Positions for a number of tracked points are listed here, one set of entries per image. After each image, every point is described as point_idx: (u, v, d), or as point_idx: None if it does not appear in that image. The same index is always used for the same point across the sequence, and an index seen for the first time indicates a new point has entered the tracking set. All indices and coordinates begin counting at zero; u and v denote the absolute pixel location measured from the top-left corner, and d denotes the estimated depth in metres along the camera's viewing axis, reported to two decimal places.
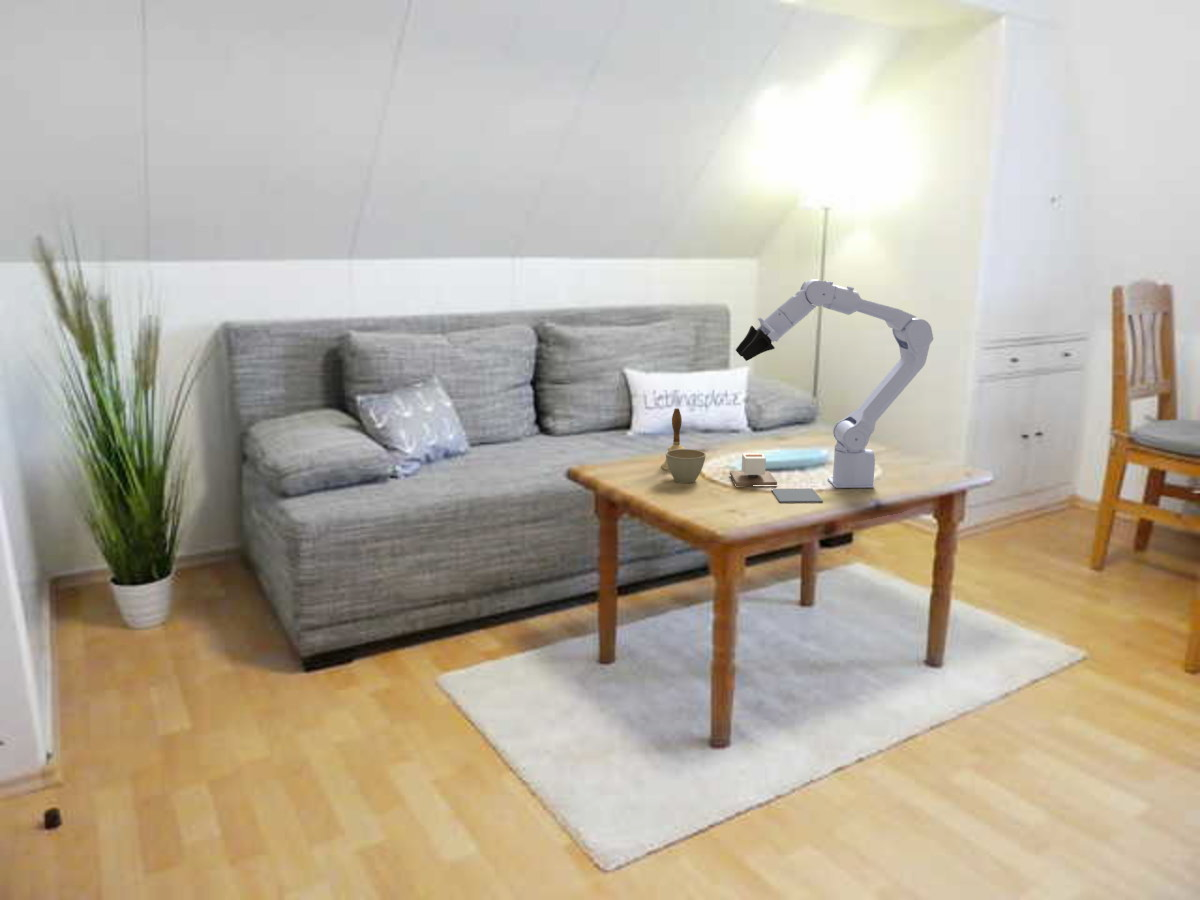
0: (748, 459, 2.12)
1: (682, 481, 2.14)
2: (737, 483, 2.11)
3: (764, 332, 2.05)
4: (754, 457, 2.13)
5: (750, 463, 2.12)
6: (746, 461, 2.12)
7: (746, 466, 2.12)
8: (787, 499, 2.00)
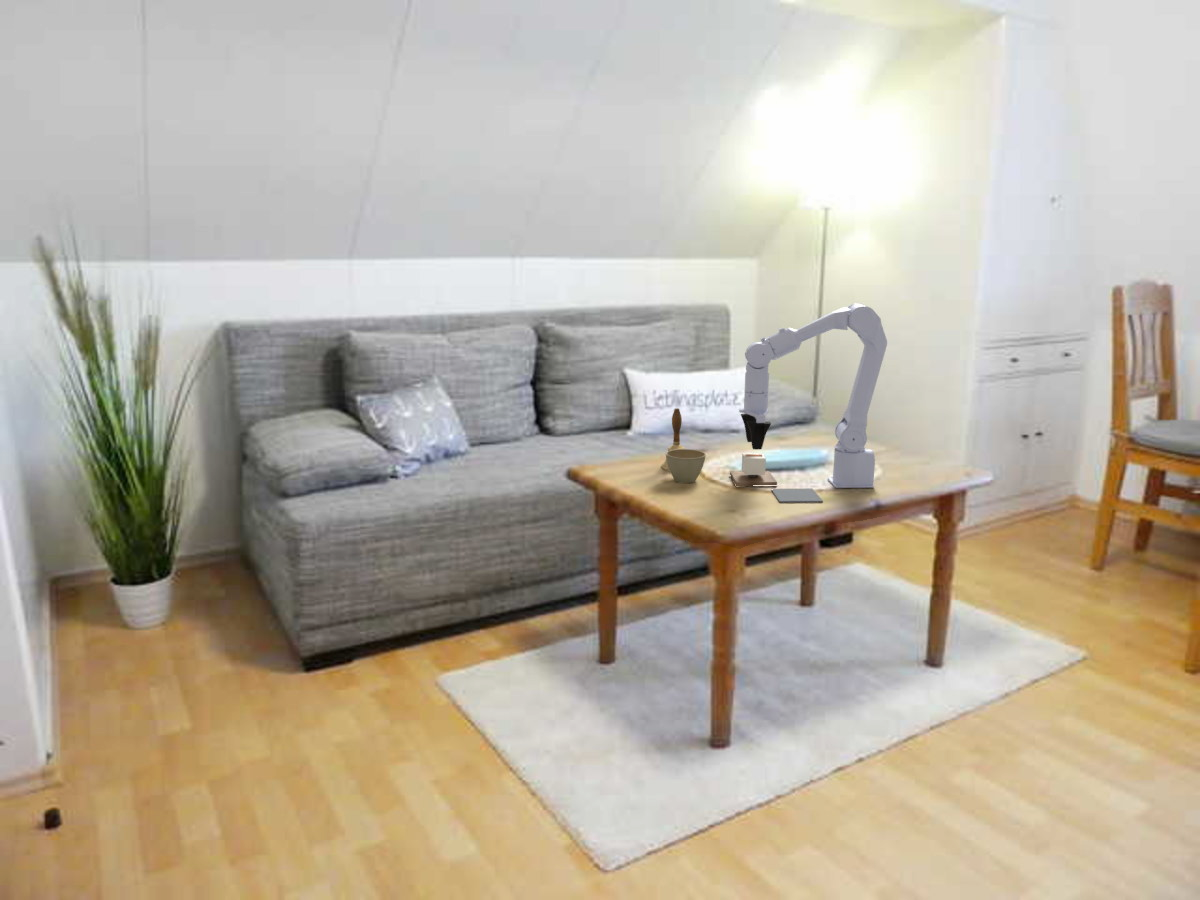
0: (748, 459, 2.12)
1: (682, 481, 2.14)
2: (737, 483, 2.11)
3: None
4: (754, 457, 2.13)
5: (750, 463, 2.12)
6: (746, 461, 2.12)
7: (746, 466, 2.12)
8: (787, 499, 2.00)
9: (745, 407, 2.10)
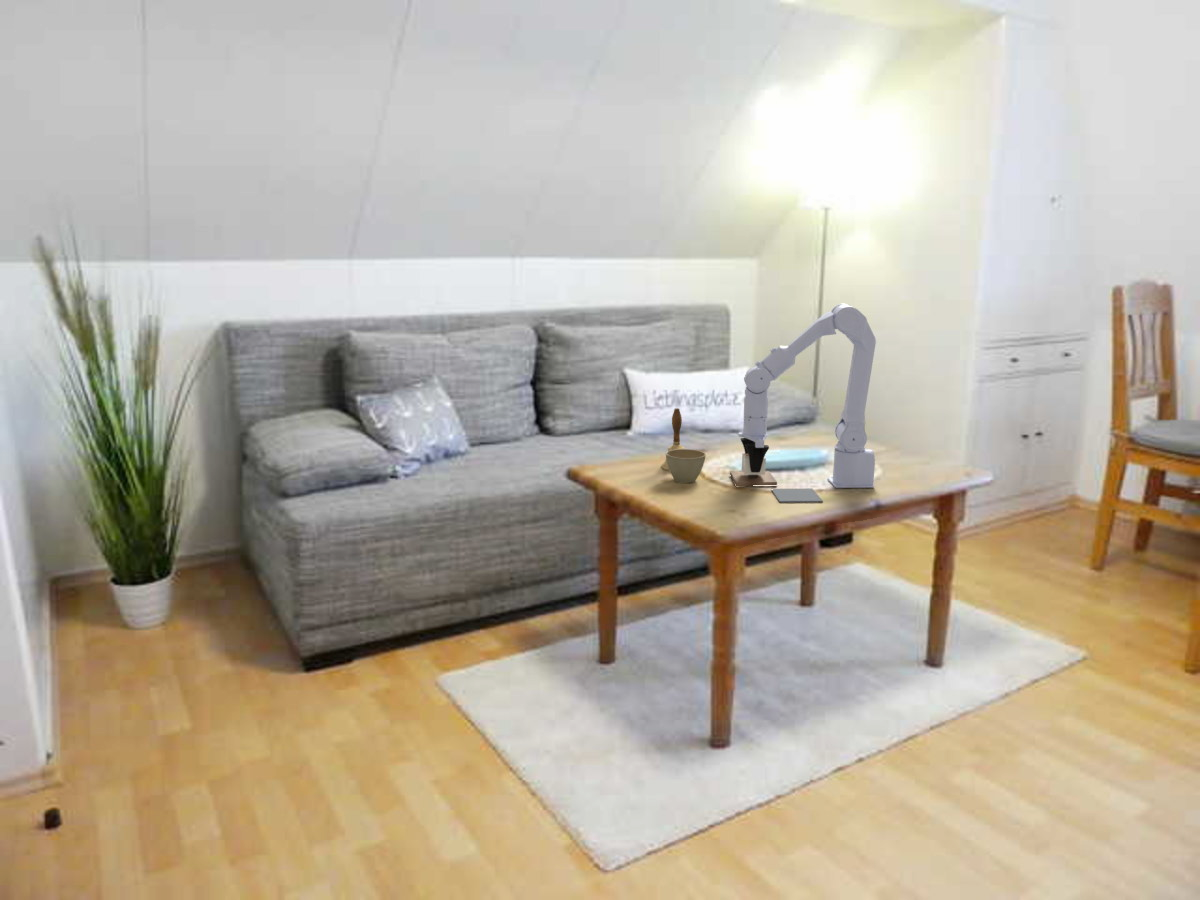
0: (748, 459, 2.12)
1: (682, 481, 2.14)
2: (737, 483, 2.11)
3: None
4: None
5: None
6: (746, 461, 2.12)
7: (746, 466, 2.12)
8: (787, 499, 2.00)
9: (744, 431, 2.12)
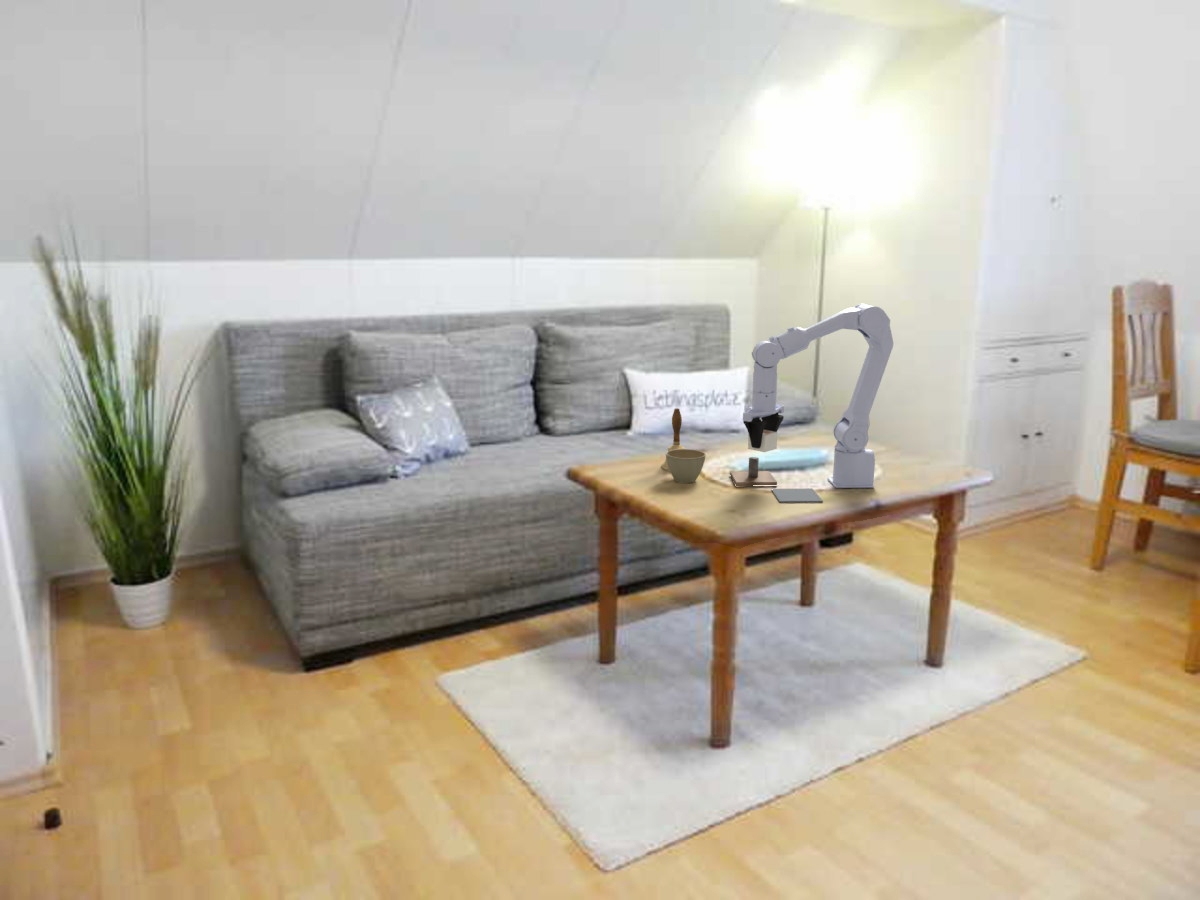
0: None
1: (682, 481, 2.14)
2: (737, 483, 2.11)
3: None
4: None
5: None
6: None
7: (749, 440, 2.11)
8: (787, 499, 2.00)
9: None
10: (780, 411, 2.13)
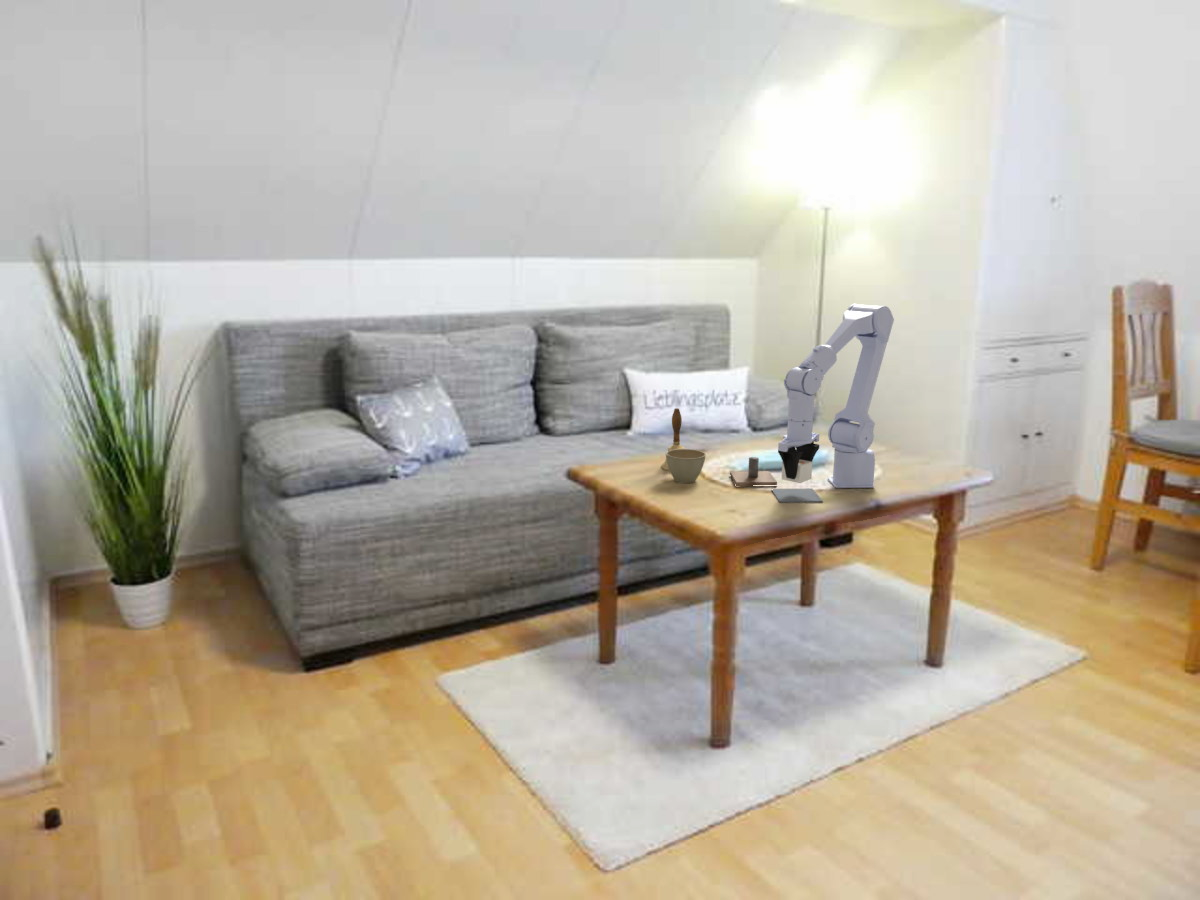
0: None
1: (682, 481, 2.14)
2: (737, 483, 2.11)
3: None
4: None
5: None
6: (783, 465, 2.01)
7: (782, 470, 2.02)
8: (787, 499, 2.00)
9: None
10: (815, 440, 2.04)
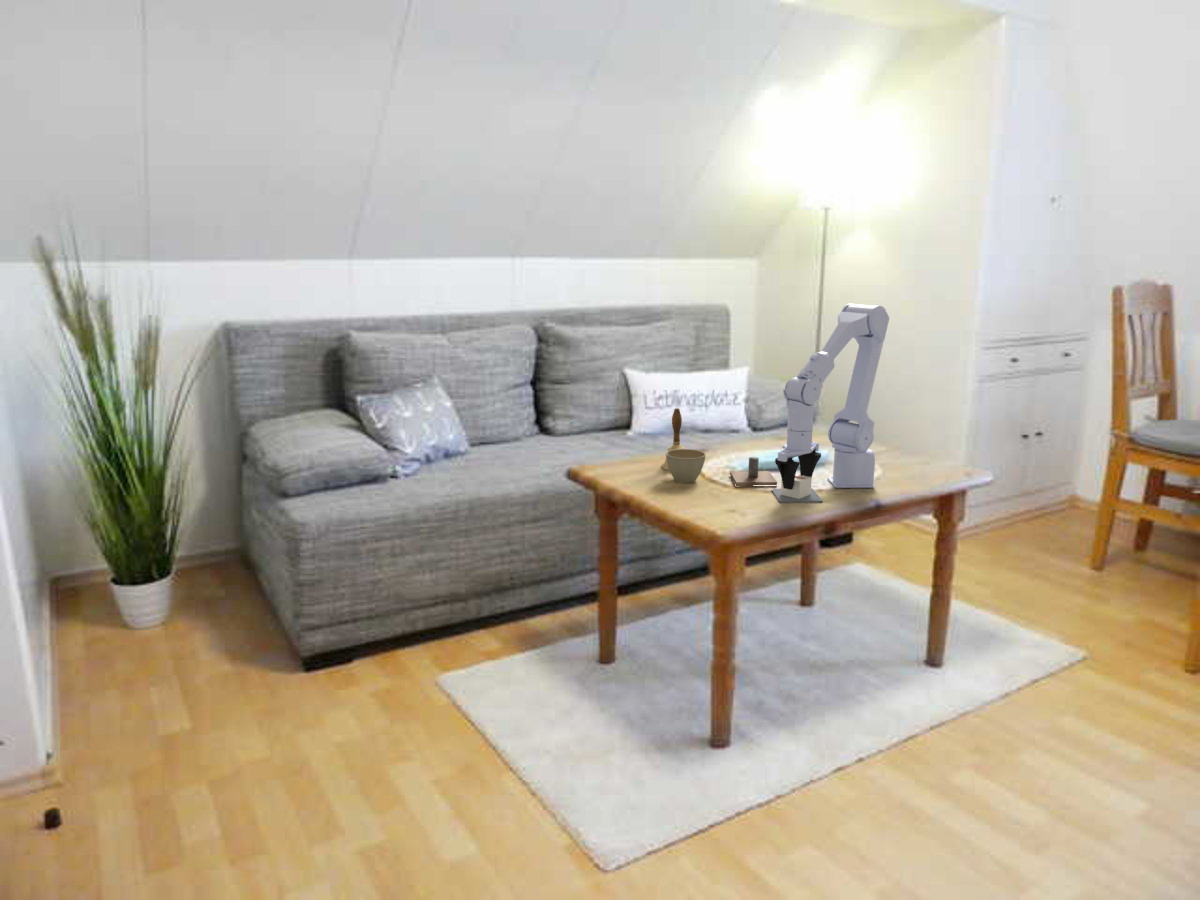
0: None
1: (682, 481, 2.14)
2: (737, 483, 2.11)
3: None
4: None
5: None
6: None
7: (782, 486, 2.03)
8: (787, 499, 2.00)
9: None
10: (815, 449, 2.05)
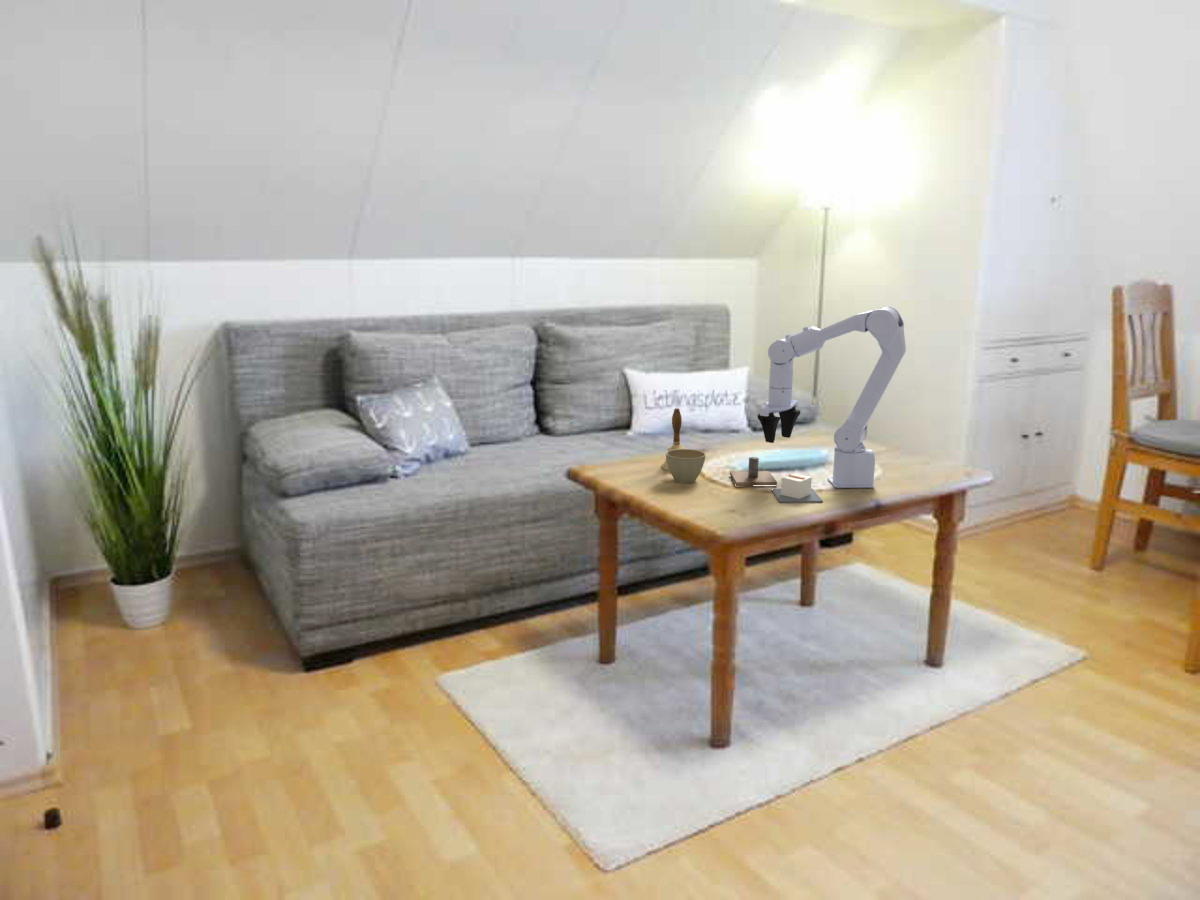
0: (784, 479, 2.02)
1: (682, 481, 2.14)
2: (737, 483, 2.11)
3: None
4: (792, 478, 2.01)
5: (786, 483, 2.02)
6: (782, 480, 2.02)
7: (782, 486, 2.03)
8: (787, 499, 2.00)
9: None
10: (794, 406, 2.21)
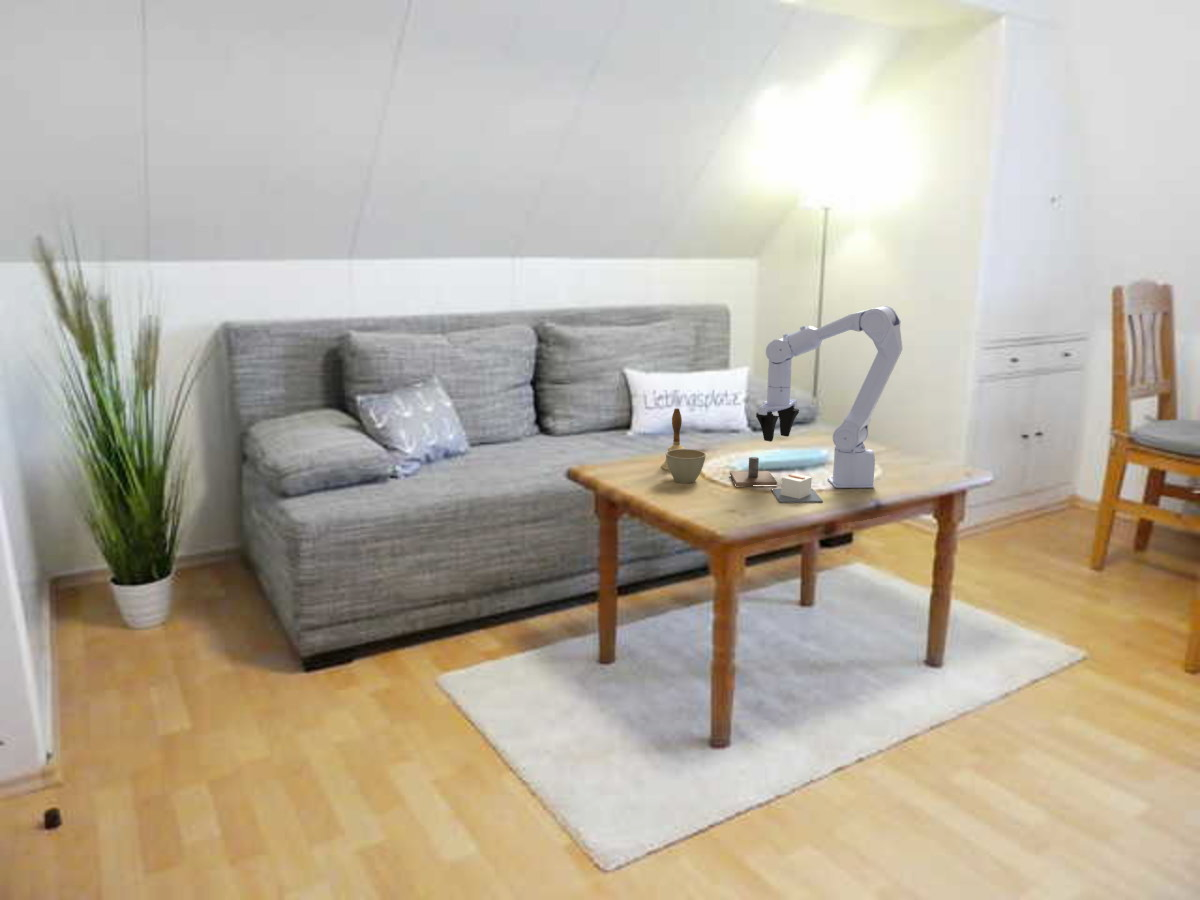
0: (784, 479, 2.02)
1: (682, 481, 2.14)
2: (737, 483, 2.11)
3: None
4: (792, 478, 2.01)
5: (786, 483, 2.02)
6: (782, 480, 2.02)
7: (782, 486, 2.03)
8: (787, 499, 2.00)
9: None
10: (793, 405, 2.22)
